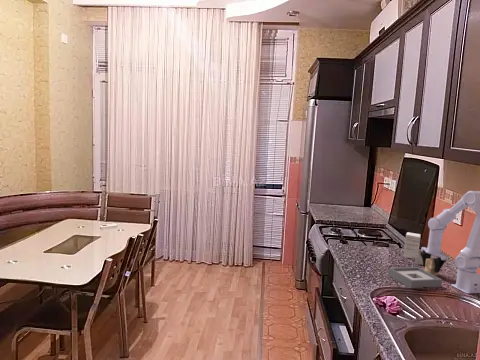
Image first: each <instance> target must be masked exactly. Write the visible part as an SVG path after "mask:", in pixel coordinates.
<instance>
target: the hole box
mask: <svg viewBox="0 0 480 360" xmlns="http://www.w3.org/2000/svg"><path fill="white" fill-rule="evenodd" d="M424 270H425V269H422V268H421V267H418V266H417V267H416V266H413V267H411V266H410V267H389V268H388V274H387V275H388V276H389V277H391V278H392V279H394V280H395V281H397V282H400V283H401V284H403V285H405V286H407V287H408V288H409V287H410V288H409V289H423V287H430V288H442V285H443V284H442V283H443V279H442V278H440V277H438V276H437V275H432V274H430V273H428V272H426V271H424Z"/></svg>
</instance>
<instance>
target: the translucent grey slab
mask: <svg viewBox="0 0 480 360" xmlns="http://www.w3.org/2000/svg"><path fill="white" fill-rule="evenodd" d="M414 264H415V265H421V266H423V260H422V257H421V254H420V253H418V255H416V259H414Z"/></svg>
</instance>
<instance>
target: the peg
mask: <svg viewBox="0 0 480 360" xmlns="http://www.w3.org/2000/svg"><path fill="white" fill-rule="evenodd" d="M434 268H435V263H434V258H430V259H426V263H425V267H424V269H423V270H424V271H426V272H428V273H430V274H432V275H434V276H437V275H438V273H435V272H434Z"/></svg>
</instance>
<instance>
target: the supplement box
mask: <svg viewBox="0 0 480 360" xmlns="http://www.w3.org/2000/svg"><path fill="white" fill-rule="evenodd" d="M421 235H422V234H420V233H414V232H409V231H408V232H406V234H405V239H404V240H405V241H404V247H403V253H402V254H403V257H404V258H408V259H413V260H415V259H416V255H418V254H420V253H419V251H420V245H421Z"/></svg>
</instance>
